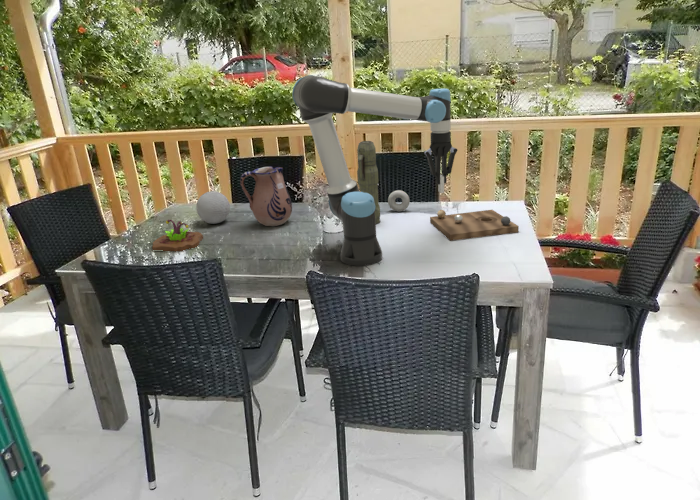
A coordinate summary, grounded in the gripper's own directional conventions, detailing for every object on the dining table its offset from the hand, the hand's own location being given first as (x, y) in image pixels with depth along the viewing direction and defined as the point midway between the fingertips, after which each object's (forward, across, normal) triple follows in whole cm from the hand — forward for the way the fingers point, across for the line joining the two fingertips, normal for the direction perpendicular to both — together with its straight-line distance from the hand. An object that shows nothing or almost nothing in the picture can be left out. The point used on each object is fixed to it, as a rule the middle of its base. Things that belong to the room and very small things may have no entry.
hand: (441, 191), depth 205 cm
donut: (+17, +9, -33) cm, 38 cm away
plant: (+16, +107, -24) cm, 111 cm away
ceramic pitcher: (+16, +68, -36) cm, 78 cm away
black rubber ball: (+12, -23, +9) cm, 28 cm away
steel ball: (+12, -7, 0) cm, 14 cm away
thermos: (+16, +25, -22) cm, 37 cm away
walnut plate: (+16, -13, 0) cm, 21 cm away
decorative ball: (+16, +93, -48) cm, 106 cm away
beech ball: (+12, -3, -9) cm, 15 cm away
